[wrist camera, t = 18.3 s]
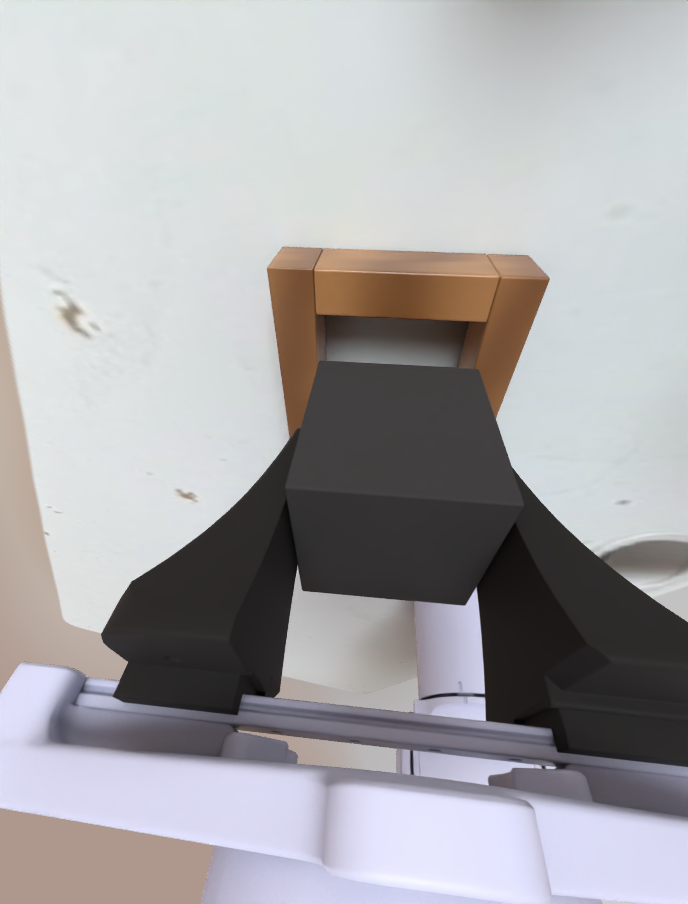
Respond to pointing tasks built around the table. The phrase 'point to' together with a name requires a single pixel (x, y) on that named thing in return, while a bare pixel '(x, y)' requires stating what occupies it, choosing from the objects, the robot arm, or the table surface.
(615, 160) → the table surface
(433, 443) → the black block
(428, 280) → the wooden frame
